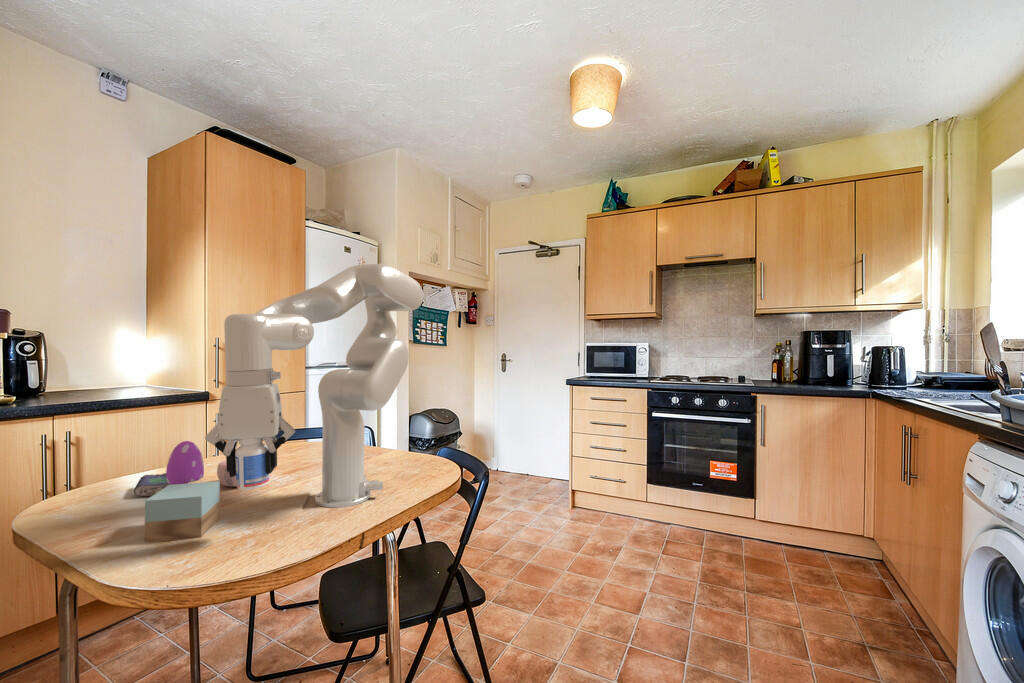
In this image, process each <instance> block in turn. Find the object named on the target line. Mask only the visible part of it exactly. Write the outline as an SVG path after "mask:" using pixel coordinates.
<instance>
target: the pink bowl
mask: <svg viewBox="0 0 1024 683" xmlns="http://www.w3.org/2000/svg"><path fill="white" fill-rule="evenodd" d="M216 475H217V478H218V481H220V484H222V486H225V487H237V485H236V475H235V476H234V477H230V475H229V472H227V465H226V459H225V460H222V461H221V462H219V463H218V465H217V469H216Z"/></svg>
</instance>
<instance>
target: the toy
mask: <svg viewBox="0 0 1024 683" xmlns="http://www.w3.org/2000/svg"><path fill="white" fill-rule="evenodd" d="M166 464H167V466H166V471H165V473H166V480H167V483H169V484H189V483H195V482H198V481H199V480H201V479H203V478H204V475H205V474H204V472H205V465H204V459H203V455H202V452H201V450H200V449H199V447H198V446H197V445H196V444H195V443H194V442H192V441H190V440H185V441H181V442H179V443H178V444H177V445H176V446H175V447H173V449H172V452H171V453H170V455H169V457H168V461H167V463H166Z"/></svg>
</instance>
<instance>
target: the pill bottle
mask: <svg viewBox="0 0 1024 683" xmlns="http://www.w3.org/2000/svg"><path fill="white" fill-rule="evenodd" d="M263 442H264V439H243V440H239V441H238V443H239V445H240V446H239V447H236V451H235V462H236V485H237V486H236V488H237V489H238V490H242V491H249V490H250V491H251V490H256V489H261V488H263V487H265V486H267V485H268V484H269V483H270V474H267V473H266V453H267V452H268V448H267V446H266V443H263Z"/></svg>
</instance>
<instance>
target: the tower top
mask: <svg viewBox="0 0 1024 683" xmlns="http://www.w3.org/2000/svg"><path fill="white" fill-rule="evenodd" d="M220 485H221V482H220V480H218V481H207V482H204V481H203V482H190V483H188V484H175V485H168V486H167V487H165V488H164V489H162V490H161V491H159V492H158V493H156V494H155V495H153V496H149V497H148V498H147V499H145V500H144V523H145V522H156V521H167V520H178V519H189V518H201V517H202V516H203V515H205V514H206V513H207V512H208V511H209V510H210V509H211V508H212V507H213V506H214V505H215V504H216V503H217V502H218V501H219V500H220V499H221V498H220V495H221V494H220V493H221V492H220V491H221V488H220V487H221V486H220ZM220 501H221V500H220Z"/></svg>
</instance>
